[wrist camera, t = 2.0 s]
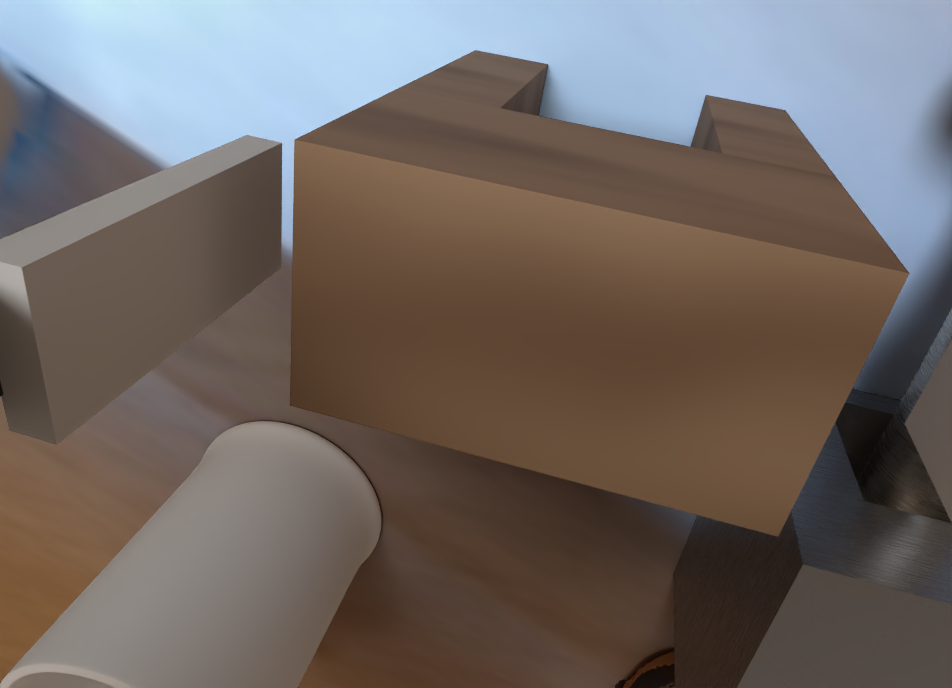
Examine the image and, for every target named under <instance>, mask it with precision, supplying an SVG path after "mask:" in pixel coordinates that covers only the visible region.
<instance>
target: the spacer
mask: <svg viewBox="0 0 952 688" xmlns="http://www.w3.org/2000/svg"><path fill="white" fill-rule="evenodd" d="M547 67H548V64H543V63H538V62H533V61H528V60H523V59H517V58H512V57H507V56H502V55H497V54H492V53H486V52H481V51H476V50H475V51H473V52H471V53H469V54H467V55H465V56H463V57H461V58H459V59H457V60H455V61H453V62H451V63H449V64H447V65H445V66H443V67H441V68H439V69H437V70H435V71H433V72H431V73H429V74H427V75H425V76H423V77H421V78H419V79H417V80H414V81H412V82H410V83H408V84H406V85H404V86H402V87H400V88H398V89H396V90H394V91H392V92H390V93H388V94H386V95H384V96H382V97H380V98H378V99H376V100H374V101H372V102H370V103H368V104H366V105H364V106H362V107H360V108H358V109H356V110H354V111H352V112H350V113H348V114H346V115H344V116H342V117H340V118H338V119H335V120H333V121H331V122H329V123H327V124H325V125H323V126H321V127H319V128H317V129H315V130H313V131H311V132H309V133H307V134H305V135H303V136H301V137H299V138H297V139H295V146H294V204H293V262H292V319H291V377H290V406H294V407H298V408H301V409H305V410H309V411H313V412H316V413H320V414H324V415H327V416H331V417H335V418H339V419H342V420H346V421H350V422H353V423H357V424H361V425H365V426H368V427H372V428H376V429H380V430H383V431H387V432H391V433H394V434H398V435H402V436H406V437H409V438H413V439H417V440H420V441H424V442H428V443H432V444H435V445H439V446H443V447H446V448H450V449H454V450H458V451H461V452H465V453H469V454H472V455H476V456H480V457H484V458H487V459H491V460H495V461H499V462H502V463H506V464H510V465H513V466H517V467H521V468H525V469H528V470H532V471H536V472H539V473H543V474H547V475H551V476H554V477H558V478H562V479H565V480H569V481H573V482H577V483H580V484H584V485H588V486H591V487H595V488H599V489H603V490H606V491H610V492H614V493H618V494H621V495H625V496H629V497H632V498H636V499H640V500H644V501H647V502H651V503H655V504H658V505H662V506H666V507H670V508H673V509H677V510H681V511H684V512H688V513H692V514H696V515H699V516H703V517H707V518H711V519H714V520H718V521H722V522H725V523H729V524H733V525H737V526H740V527H744V528H748V529H751V530H755V531H759V532H763V533H766V534H770V535H774V536H777V537H778V536H779V534H780V532H781V530H782V528H783V526H784V524H785V522H786V520H787V518H788V516H789V514H790V512H791V510H792V508H793V506H794V504H795V502H796V500H797V498H798V496H799V494H800V492H801V490H802V488H803V486H804V484H805V482H806V480H807V478H808V476H809V474H810V472H811V470H812V468H813V466H814V464H815V462H816V460H817V458H818V456H819V454H820V452H821V450H822V448H823V446H824V444H825V442H826V440H827V438H828V436H829V434H830V432H831V430H832V428H833V426H834V424H835V422H836V420H837V418H838V416H839V414H840V412H841V410H842V408H843V406H844V404H845V402H846V400H847V398H848V396H849V394H850V392H851V390H852V388H853V386H854V384H855V382H856V380H857V378H858V376H859V374H860V372H861V370H862V368H863V366H864V364H865V362H866V360H867V358H868V356H869V354H870V352H871V350H872V348H873V346H874V344H875V342H876V340H877V338H878V336H879V334H880V332H881V329H882V327H883V325H884V323H885V321H886V319H887V317H888V315H889V313H890V311H891V309H892V307H893V305H894V303H895V301H896V299H897V297H898V295H899V293H900V291H901V289H902V287H903V285H904V283H905V281H906V279H907V277H908V275H909V272H908V271H907V270H906V268H905V267H904V266H903V264H902V263H901V262H900V260H899V259H898V258H897V256H896V255H895V254H894V253H893V251H892V250H891V249H890V247H889V246H888V245H887V243H886V242H885V241H884V239H883V238H882V237H881V235H880V234H879V233H878V232H877V230H876V229H875V228H874V226H873V225H872V224H871V222H870V221H869V220H868V218H867V217H866V216H865V214H864V213H863V212H862V211H861V209H860V208H859V207H858V205H857V204H856V203H855V201H854V200H853V199H852V197H851V196H850V195H849V194H848V192H847V191H846V190H845V188H844V187H843V186H842V184H841V183H840V182H839V180H838V179H837V178H836V176H835V175H834V174H833V173H832V171H831V170H830V169H829V167H828V166H827V165H826V163H825V162H824V161H823V159H822V158H821V157H820V156H819V154H818V153H817V152H816V150H815V149H814V148H813V146H812V145H811V144H810V142H809V141H808V140H807V138H806V137H805V136H804V135H803V133H802V132H801V131H800V129H799V128H798V127H797V125H796V124H795V123H794V121H793V120H792V119H791V118H790V116H789V115H788V114H787V112H786V111H785V110H781V109H776V108H771V107H765V106H760V105H755V104H750V103H745V102H740V101H734V100H729V99H724V98H719V97H714V96H709V95H706V97H705V100H704V104H703V107H702V110H701V114H700V117H699V121H698V124H697V127H696V131H695V134H694V137H693V141H692V144H691V147H688V146H684V145H679V144H674V143H669V142H664V141H659V140H654V139H649V138H644V137H639V136H634V135H630V134H625V133H620V132H615V131H610V130H605V129H600V128H595V127H590V126H585V125H580V124H575V123H571V122H566V121H561V120H556V119H551V118H546V117H541V116H538V115H539V110H540V105H541V99H542V94H543V89H544V83H545V78H546V72H547Z"/></svg>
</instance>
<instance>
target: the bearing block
mask: <svg viewBox="0 0 952 688" xmlns="http://www.w3.org/2000/svg"><path fill="white" fill-rule="evenodd" d="M900 402H901V401H899V400H895V399H891V398H886V397H882V396H878V395H874V394H870V393H866V392H861V391H857V390H853V389H852V390H851V392H850V394H849V396H848V398H847V400H846V402H845V404H844V406H843V408H842V410H841V412H840V414H839V416H838V418H837V420H836V422H835V424H834V426H833V428H832V430H831V432H830V434H829V436H828V438H827V440H826V442H825V444H824V446H823V448H822V450H821V452H820V454H819V456H818V458H817V460H816V462H815V464H814V466H813V468H812V470H811V472H810V474H809V476H808V478H807V480H806V482H805V484H804V486H803V488H802V490H801V492H800V494H799V496H798V498H797V500H796V502H795V504H794V506H793V508H792V510H791V512H790V514H789V516H788V518H787V520H786V522H785V524H784V526H783V528H782V530H781V532H780V534H779V536H778V537H777V536H774V535H770V534H766V533H763V532H759V531H755V530H751V529H748V528H744V527H740V526H737V525H733V524H729V523H725V522H722V521H718V520H714V519H711V518H707V517H703V516H699V515H698V517H697V519H696V522H695V524H694V526H693V529H692V531H691V534H690V536H689V539H688V541H687V543H686V546H685V548H684V551H683V553H682V556H681V558H680V561H679V563H678V565H677V568H676V570H675V573H674V651H675V688H952V524H951V523H947V522H943V521H939V520H936V519H932V518H928V517H924V516H920V515H916V514H912V513H908V512H905V511H901V510H897V509H893V508H889V507H885V506H881V505H878V504H874V503H870V502H866V501H864V500H863V498H862V495H861V492H860V489H859V486H858V484H857V480H858V479H859V477H860V475H861V473H862V471H863V469H864V468H865V466H866V464H867V462H868V460H869V458H870V457H871V455H872V453H873V451H874V449H875V447H876V446H877V444H878V442H879V440H880V438H881V436H882V435H883V433H884V431H885V429H886V427H887V426H888V424H889V422H890V420H891V418H892V416H893V415H894V413H895V411H896V409H897V407H898V405H899V404H900Z"/></svg>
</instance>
